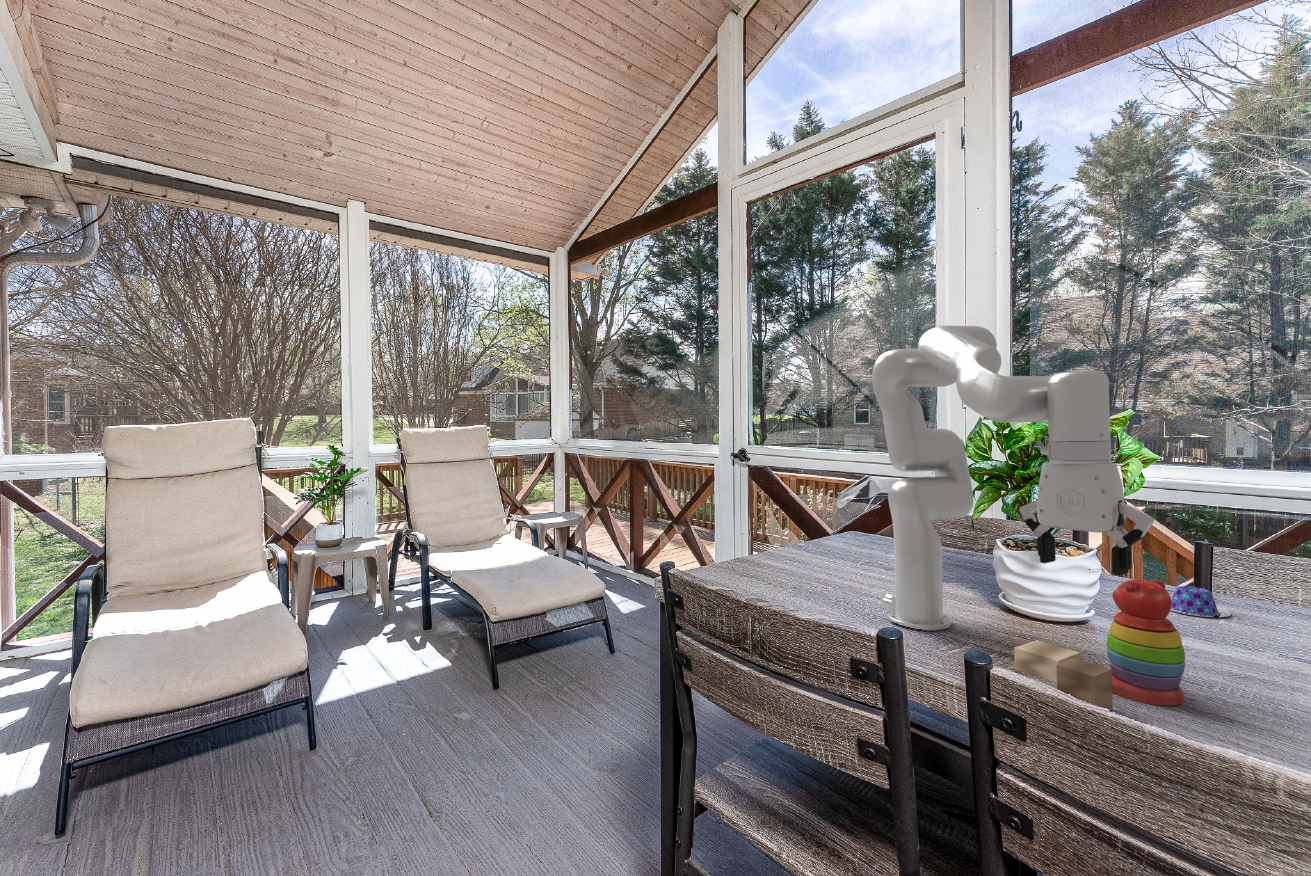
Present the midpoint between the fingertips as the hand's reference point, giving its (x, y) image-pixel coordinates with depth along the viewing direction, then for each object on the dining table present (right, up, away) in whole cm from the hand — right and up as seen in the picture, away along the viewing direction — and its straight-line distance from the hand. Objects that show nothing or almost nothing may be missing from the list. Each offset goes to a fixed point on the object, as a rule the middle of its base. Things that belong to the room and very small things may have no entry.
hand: (1082, 567), depth 86 cm
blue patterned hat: (+57, -20, +44) cm, 75 cm away
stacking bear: (+13, -21, +4) cm, 25 cm away
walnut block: (0, -21, 0) cm, 21 cm away
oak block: (+3, -21, +13) cm, 25 cm away
